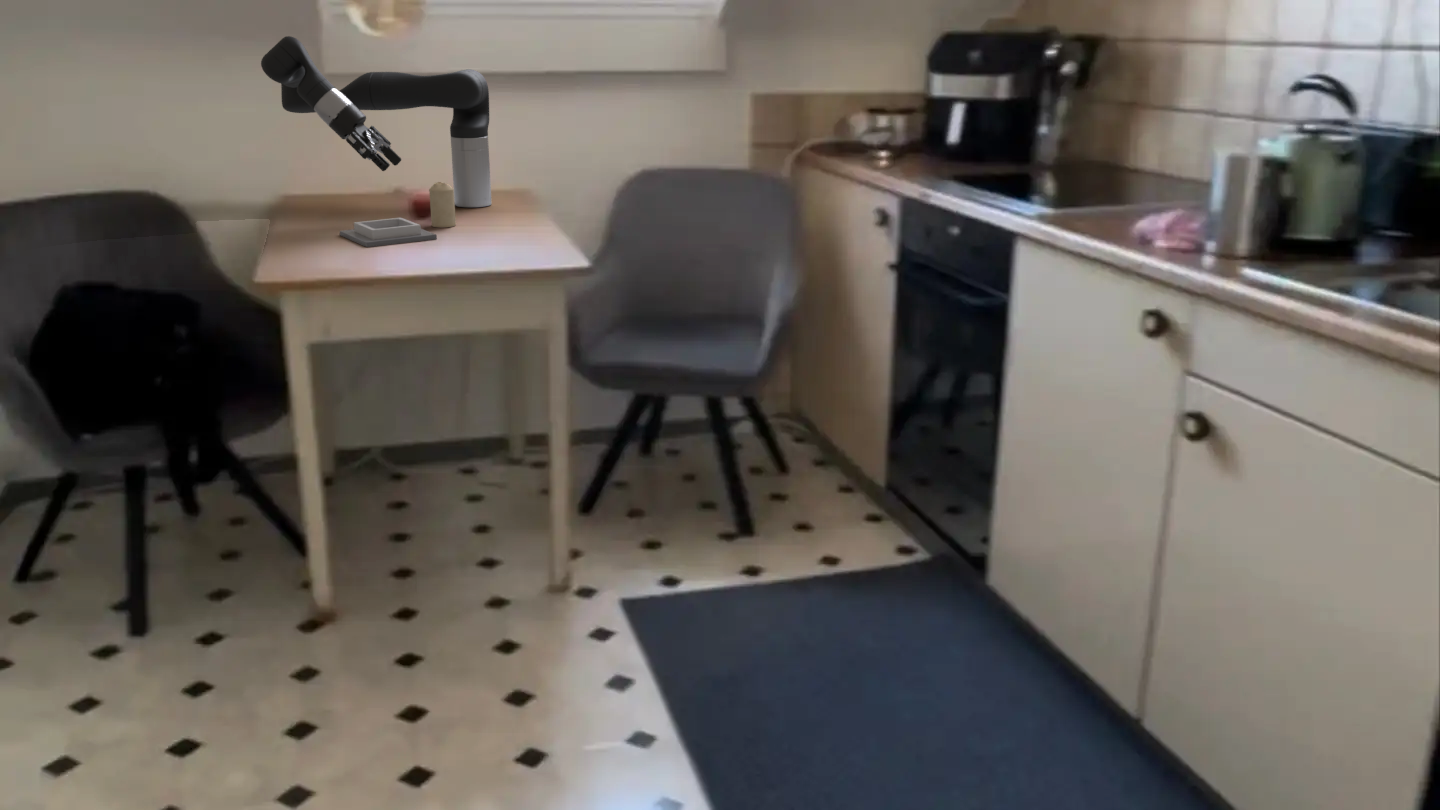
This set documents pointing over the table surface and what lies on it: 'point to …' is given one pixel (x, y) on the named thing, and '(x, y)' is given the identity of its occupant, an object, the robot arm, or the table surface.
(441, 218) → the candle
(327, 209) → the table surface
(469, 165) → the robot arm
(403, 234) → the candle tray
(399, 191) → the table surface
